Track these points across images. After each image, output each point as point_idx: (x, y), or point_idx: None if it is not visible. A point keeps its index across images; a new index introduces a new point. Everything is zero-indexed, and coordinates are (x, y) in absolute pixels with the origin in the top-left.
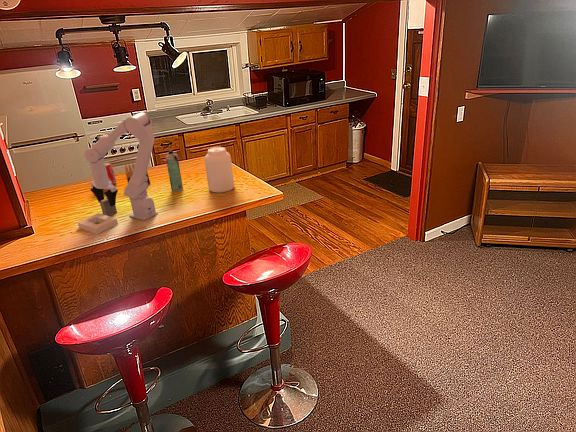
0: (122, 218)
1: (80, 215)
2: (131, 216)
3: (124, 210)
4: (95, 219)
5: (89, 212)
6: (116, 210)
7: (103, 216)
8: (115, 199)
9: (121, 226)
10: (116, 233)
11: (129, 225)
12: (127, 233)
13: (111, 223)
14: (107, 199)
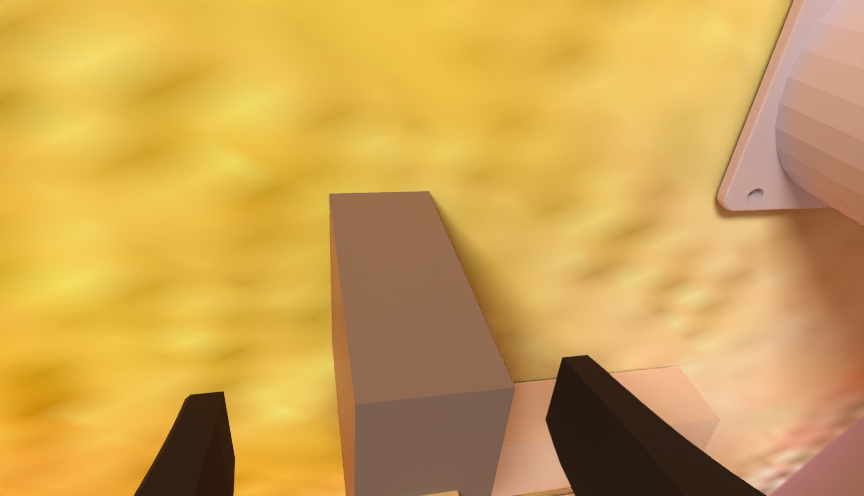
0: (649, 272)
1: (11, 481)
2: (764, 207)
3: (498, 87)
4: None
5: (5, 390)
6: (436, 211)
7: (523, 467)
8: (674, 435)
9: (745, 373)
10: (765, 446)
11: (818, 327)
12: (860, 406)
13: None
14: (445, 484)
